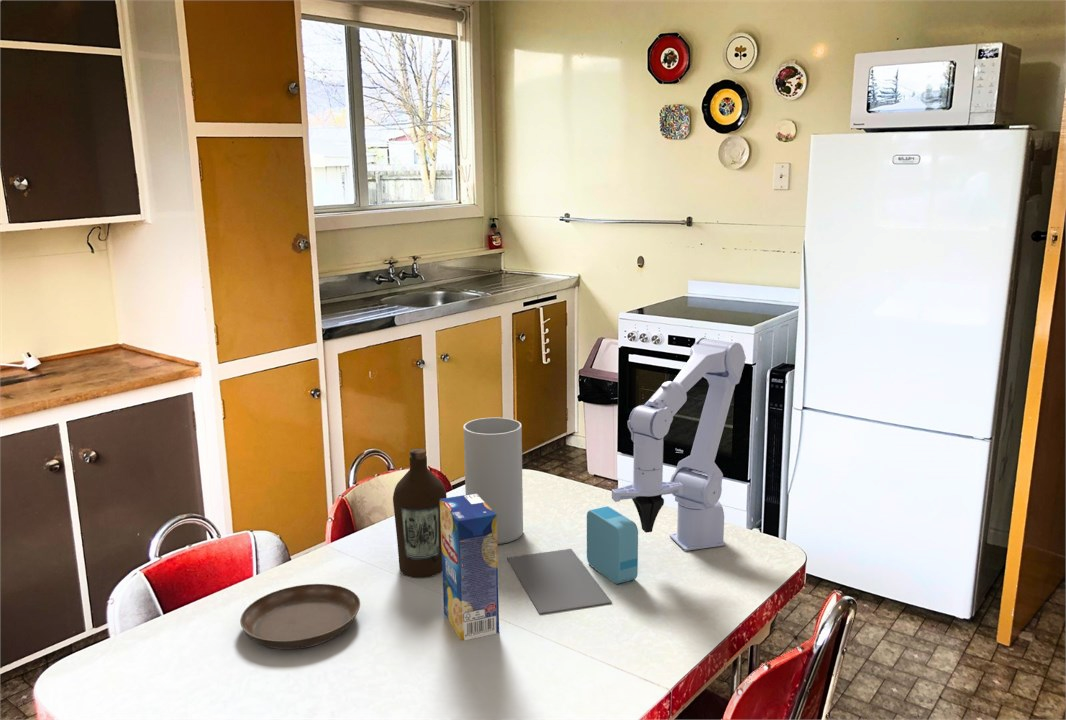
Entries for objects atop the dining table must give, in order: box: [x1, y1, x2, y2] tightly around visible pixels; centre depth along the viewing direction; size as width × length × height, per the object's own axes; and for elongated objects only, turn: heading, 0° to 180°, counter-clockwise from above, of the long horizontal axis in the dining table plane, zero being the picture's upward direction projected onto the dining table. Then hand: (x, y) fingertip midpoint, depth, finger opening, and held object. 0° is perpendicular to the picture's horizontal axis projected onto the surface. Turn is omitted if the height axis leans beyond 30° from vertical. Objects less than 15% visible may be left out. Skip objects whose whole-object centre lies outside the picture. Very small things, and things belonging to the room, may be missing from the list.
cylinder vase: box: [463, 417, 524, 545], centre depth 188 cm, size 12×12×25 cm
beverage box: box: [440, 493, 500, 642], centre depth 151 cm, size 7×11×22 cm, turn 22°
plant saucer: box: [239, 583, 361, 650], centre depth 153 cm, size 21×21×3 cm
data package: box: [586, 506, 639, 585], centre depth 171 cm, size 12×4×12 cm, turn 28°
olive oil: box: [392, 448, 448, 579], centre depth 172 cm, size 11×11×25 cm
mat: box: [506, 548, 613, 615], centre depth 169 cm, size 14×24×1 cm, turn 16°
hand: (646, 530), depth 173 cm, fingers closed
